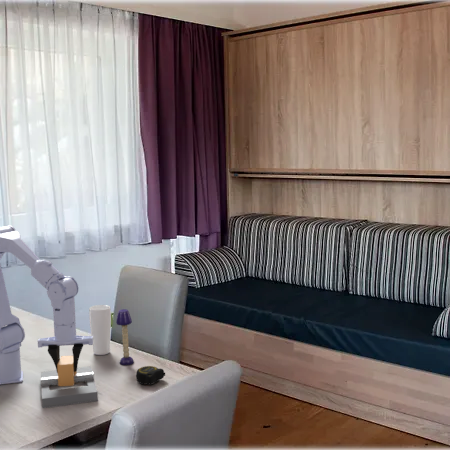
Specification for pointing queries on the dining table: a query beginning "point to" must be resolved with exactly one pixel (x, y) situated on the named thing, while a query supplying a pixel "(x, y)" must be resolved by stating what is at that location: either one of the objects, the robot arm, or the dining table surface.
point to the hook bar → (76, 378)
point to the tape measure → (149, 375)
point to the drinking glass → (100, 328)
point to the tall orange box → (66, 371)
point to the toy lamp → (125, 335)
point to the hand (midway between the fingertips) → (67, 370)
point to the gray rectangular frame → (68, 391)
